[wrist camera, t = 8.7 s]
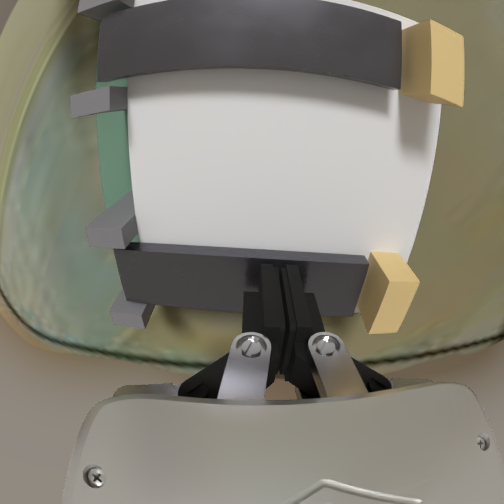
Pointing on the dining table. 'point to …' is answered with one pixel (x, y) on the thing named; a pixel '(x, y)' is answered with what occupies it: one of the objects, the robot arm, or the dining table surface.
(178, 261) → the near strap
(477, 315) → the dining table surface
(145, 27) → the strap
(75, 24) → the dining table surface
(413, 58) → the board
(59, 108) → the dining table surface
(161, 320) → the dining table surface
